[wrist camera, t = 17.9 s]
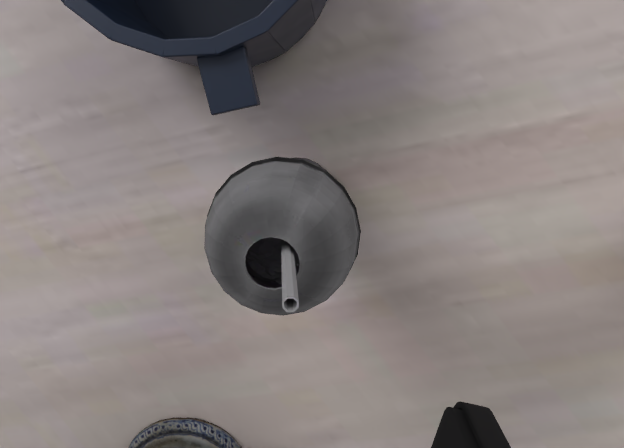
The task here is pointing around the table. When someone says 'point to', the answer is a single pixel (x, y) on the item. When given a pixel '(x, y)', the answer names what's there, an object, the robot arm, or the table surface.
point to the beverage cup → (281, 235)
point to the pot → (207, 36)
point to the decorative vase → (183, 435)
